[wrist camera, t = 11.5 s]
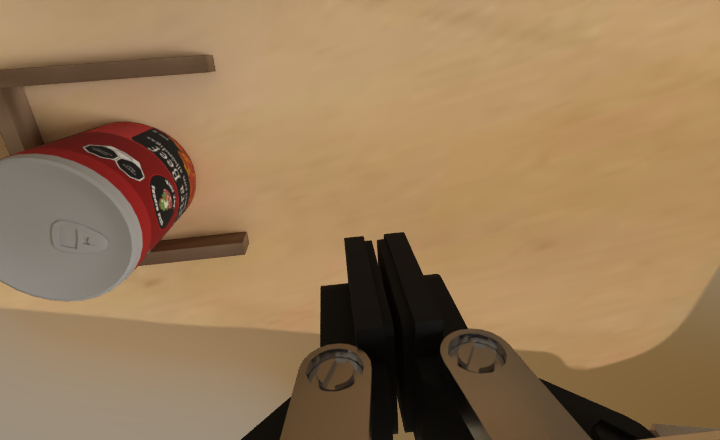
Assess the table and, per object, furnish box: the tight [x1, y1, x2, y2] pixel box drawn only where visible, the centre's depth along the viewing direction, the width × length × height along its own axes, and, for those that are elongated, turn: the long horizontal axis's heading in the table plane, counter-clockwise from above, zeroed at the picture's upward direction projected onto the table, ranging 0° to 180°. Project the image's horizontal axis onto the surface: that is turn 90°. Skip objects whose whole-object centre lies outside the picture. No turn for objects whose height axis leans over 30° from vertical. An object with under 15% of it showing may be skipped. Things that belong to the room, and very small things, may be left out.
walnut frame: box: [0, 55, 249, 266], centre depth 28 cm, size 14×14×2 cm
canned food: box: [0, 122, 196, 301], centre depth 24 cm, size 8×8×11 cm
